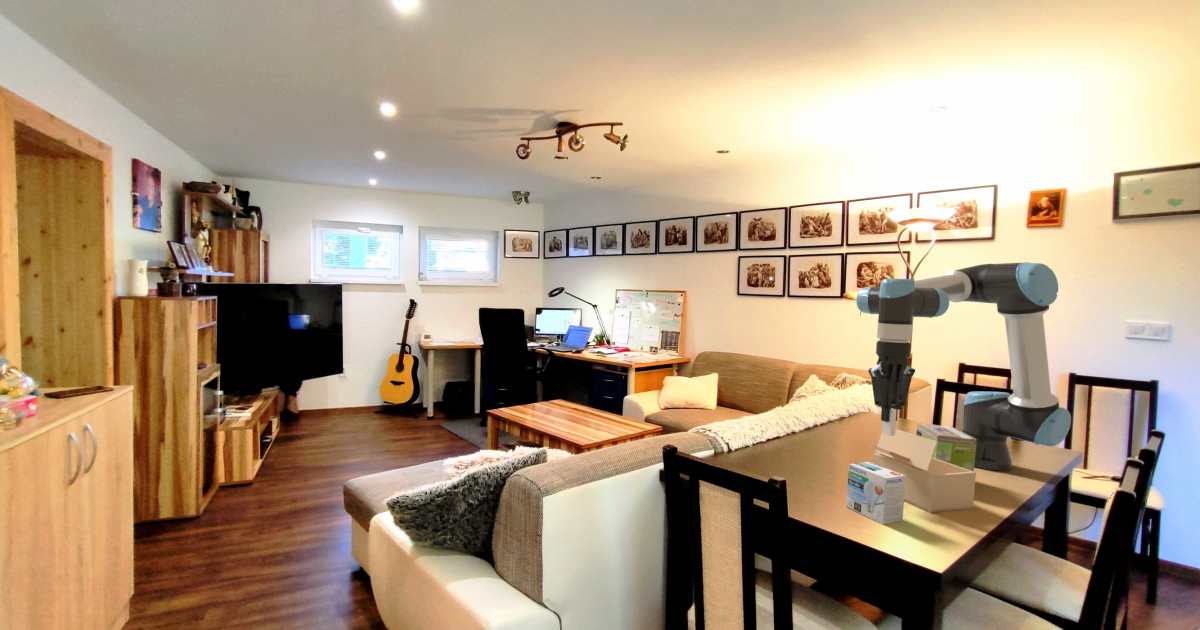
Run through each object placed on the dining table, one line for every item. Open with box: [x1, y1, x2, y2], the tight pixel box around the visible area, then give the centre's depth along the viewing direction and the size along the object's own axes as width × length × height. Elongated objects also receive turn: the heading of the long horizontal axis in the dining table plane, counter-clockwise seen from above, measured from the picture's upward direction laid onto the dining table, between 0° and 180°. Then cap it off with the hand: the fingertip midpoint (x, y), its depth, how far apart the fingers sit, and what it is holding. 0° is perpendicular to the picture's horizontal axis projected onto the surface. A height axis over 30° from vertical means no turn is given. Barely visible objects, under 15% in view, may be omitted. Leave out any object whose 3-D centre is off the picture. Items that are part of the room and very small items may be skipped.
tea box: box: [915, 423, 976, 472], centre depth 152 cm, size 15×10×15 cm, turn 168°
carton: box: [872, 452, 977, 514], centre depth 139 cm, size 14×18×9 cm
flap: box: [872, 428, 938, 471], centre depth 135 cm, size 8×15×8 cm
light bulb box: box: [845, 461, 906, 525], centre depth 126 cm, size 11×7×11 cm, turn 23°
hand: (888, 434), depth 134 cm, fingers closed
